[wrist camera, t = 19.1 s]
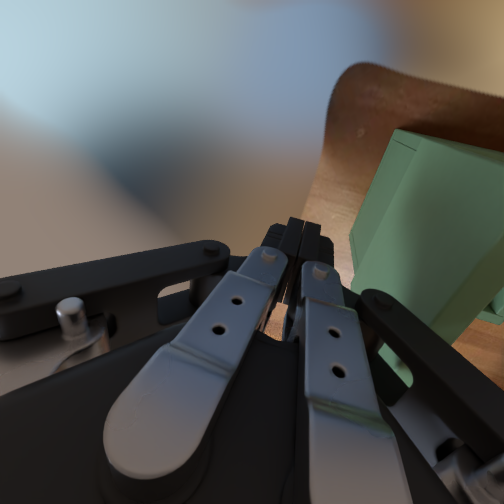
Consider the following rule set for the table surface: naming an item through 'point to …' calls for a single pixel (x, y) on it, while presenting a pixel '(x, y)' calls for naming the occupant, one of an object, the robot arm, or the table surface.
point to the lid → (440, 242)
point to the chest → (384, 191)
